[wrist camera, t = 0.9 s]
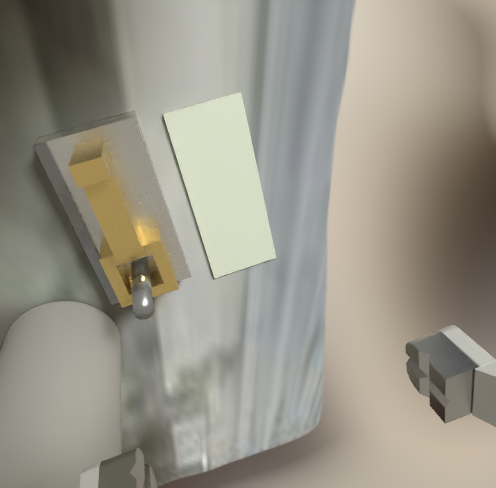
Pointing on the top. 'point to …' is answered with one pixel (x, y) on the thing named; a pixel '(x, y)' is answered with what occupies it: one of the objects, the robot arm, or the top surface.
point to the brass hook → (118, 222)
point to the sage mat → (222, 182)
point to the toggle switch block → (137, 189)
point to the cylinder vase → (58, 395)
